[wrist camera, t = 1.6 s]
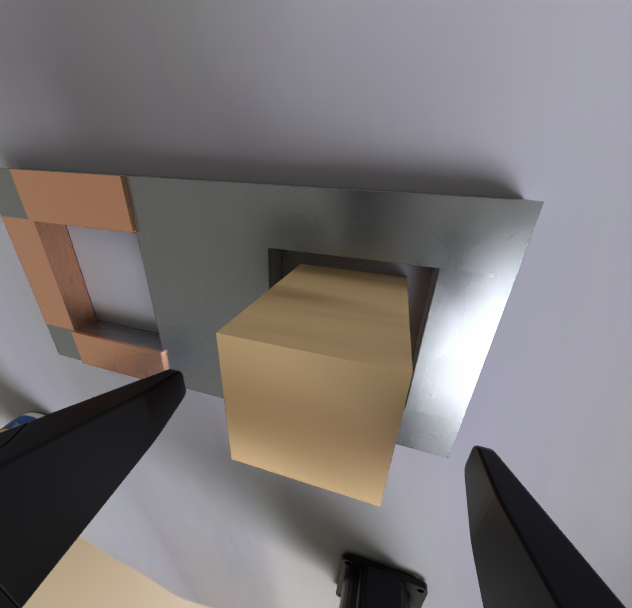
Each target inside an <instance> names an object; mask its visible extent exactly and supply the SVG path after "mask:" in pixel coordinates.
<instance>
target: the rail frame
mask: <svg viewBox="0 0 632 608" xmlns="http://www.w3.org/2000/svg"><path fill="white" fill-rule="evenodd" d="M543 203H544V202H541V201H534V200H526V199H512V198H495V197H479V196H462V195H446V194H429V193H413V192H396V191H380V190H363V189H346V188H330V187H313V186H297V185H280V184H264V183H247V182H231V181H214V180H198V179H181V178H164V177H148V176H131V175H115V174H98V173H82V172H65V171H49V170H32V169H15V168H0V214H1V216H2V219H3V221H4V223H5V226H6V228H7V231H8V233H9V235H10V238H11V240H12V243H13V245H14V247H15V250H16V252H17V255H18V257H19V259H20V262H21V264H22V267H23V269H24V271H25V274H26V276H27V279H28V281H29V283H30V286H31V288H32V291H33V293H34V295H35V298H36V300H37V303H38V305H39V307H40V310H41V312H42V315H43V317H44V319H45V322H46V324H47V327H48V329H49V331H50V334H51V336H52V339H53V341H54V343H55V346H56V348H57V351H58V353H59V355H63V356H67V357H71V358H75V359H78V360H82V362H83V363H84V364H88V365H92V366H95V367H99V368H103V369H106V370H110V371H114V372H118V373H121V374H125V375H129V376H132V377H136V378H140V379H144V378H147V377H149V376H152V375H154V374H157V373H160V372H162V371H165V370H168V369H174V370H178V371H181V372H182V373H183V377H184V382H185V387H186V388H187V389H191V390H195V391H199V392H202V393H206V394H210V395H214V396H217V397H221V398H224V393H223V385H222V377H221V369H220V361H219V353H218V345H217V337H216V333H217V332H218V331H219V330H220V329H221V328H223V327H224V326H225V325H226V324H228V323H229V322H230V321H231V320H232V319H234V318H235V317H236V316H237V315H239V314H240V313H241V312H242V311H243V310H245V309H246V308H247V307H248V306H250V305H251V304H252V303H253V302H254V301H256V300H257V299H258V298H259V297H261V296H262V295H263V294H264V293H265V292H267V291H268V290H269V289H270V288H272V287H273V286H274V285H275V284H276V283H278V282H279V281H280V280H281V249H282V250H290V251H299V252H307V253H316V254H324V255H333V256H341V257H349V258H358V259H366V260H375V261H383V262H392V263H400V264H408V265H417V266H425V267H434V268H433V272H432V276H431V281H430V285H429V289H428V293H427V297H426V302H425V306H424V310H423V314H422V319H421V323H420V327H419V331H418V336H417V340H416V344H415V348H414V352H413V357H412V370H413V374H412V378H411V382H410V386H409V390H408V394H407V399H406V403H405V407H404V411H403V415H402V419H401V423H400V427H399V431H398V435H397V439H396V444H398V445H402V446H406V447H409V448H413V449H417V450H421V451H424V452H428V453H432V454H436V455H439V456H443V457H447V458H448V457H449V455H450V452H451V449H452V447H453V444H454V441H455V438H456V436H457V433H458V430H459V428H460V425H461V422H462V420H463V417H464V414H465V412H466V409H467V406H468V404H469V401H470V398H471V396H472V393H473V390H474V388H475V385H476V382H477V380H478V377H479V374H480V371H481V369H482V366H483V363H484V361H485V358H486V355H487V353H488V350H489V347H490V345H491V342H492V339H493V337H494V334H495V331H496V329H497V326H498V323H499V321H500V318H501V315H502V313H503V310H504V307H505V305H506V302H507V299H508V296H509V294H510V291H511V288H512V286H513V283H514V280H515V278H516V275H517V272H518V270H519V267H520V264H521V262H522V259H523V256H524V254H525V251H526V248H527V246H528V243H529V240H530V238H531V235H532V232H533V229H534V227H535V224H536V221H537V219H538V216H539V213H540V211H541V208H542V205H543ZM66 225H71V226H79V227H88V228H96V229H105V230H113V231H121V232H130V233H135V232H137V237H138V241H139V245H140V250H141V254H142V259H143V263H144V268H145V272H146V277H147V281H148V286H149V290H150V295H151V299H152V304H153V308H154V313H155V317H156V321H157V326H158V330H159V334H157V333H153V332H148V331H144V330H139V329H135V328H130V327H125V326H121V325H116V324H112V323H107V322H102V321H98V320H96V317H95V314H94V311H93V307H92V304H91V301H90V298H89V295H88V292H87V289H86V286H85V283H84V280H83V277H82V274H81V271H80V268H79V265H78V262H77V259H76V256H75V252H74V249H73V246H72V243H71V240H70V237H69V234H68V231H67V228H66Z"/></svg>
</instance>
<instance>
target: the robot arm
mask: <svg viewBox="0 0 632 608" xmlns="http://www.w3.org/2000/svg"><path fill="white" fill-rule="evenodd" d="M185 393H186V387H185V382H184V377H183V373H182V372H181V371H178V370H174V369H168V370H165V371H162V372H160V373H157V374H154V375H152V376H149V377H147V378H144V379H141V380H139V381H136V382H133V383H131V384H128V385H125V386H123V387H120V388H117V389H115V390H112V391H109V392H107V393H104V394H101V395H99V396H96V397H93V398H91V399H88V400H85V401H83V402H80V403H77V404H75V405H72V406H69V407H67V408H64V409H61V410H59V411H56V412H53V413H51V414H48V415H45V416H43V417H40V418H37V419H35V420H32V421H30V422H29V423H24V424H21V425H19V426H16V427H13V428H11V429H8V430H5V431H3V432H0V608H22V607H23V606H24V605H25V603H26V602H27V601H28V599H29V598H30V597H31V596H32V595H33V593H34V592H35V591H36V590H37V588H38V587H39V586H40V584H41V583H42V582H43V581H44V579H45V578H46V577H47V575H48V574H49V573H50V572H51V571H52V569H53V568H54V567H55V566H56V564H57V563H58V562H59V560H60V559H61V558H62V557H63V555H64V554H65V553H66V552H67V551H68V549H69V548H70V547H71V546H72V544H73V543H74V542H75V541H76V539H77V538H78V537H79V535H80V534H81V533H82V532H83V530H84V529H85V528H86V527H87V525H88V524H89V523H90V522H91V520H92V519H93V518H94V517H95V515H96V514H97V513H98V512H99V510H100V509H101V508H102V507H103V505H104V504H105V503H106V502H107V500H108V499H109V498H110V497H111V495H112V494H113V493H114V492H115V490H116V489H117V488H118V486H119V485H120V484H121V483H122V481H123V480H124V479H125V478H126V476H127V475H128V474H129V473H130V471H131V470H132V469H133V468H134V466H135V465H136V464H137V463H138V461H139V460H140V459H141V458H142V456H143V455H144V454H145V453H146V451H147V450H148V449H149V448H150V446H151V445H152V444H153V442H154V441H155V440H156V438H157V437H158V436H159V434H160V433H161V431H162V430H163V428H164V427H165V425H166V424H167V422H168V421H169V419H170V418H171V416H172V415H173V413H174V412H175V410H176V409H177V407H178V406H179V404H180V403H181V401H182V400H183V398H184V396H185ZM465 484H466V495H467V506H468V517H469V528H470V537H471V544H472V550H473V556H474V561H475V566H476V571H477V576H478V582H479V587H480V592H481V597H482V602H483V607H484V608H626V607H625V606H624V605H623V604H622V603H621V601H620V600H619V599H618V598H617V597H616V595H615V594H614V593H613V592H612V591H611V589H610V588H609V587H608V586H607V585H606V583H605V582H604V581H603V580H602V579H601V578H600V576H599V575H598V574H597V573H596V572H595V570H594V569H593V568H592V567H591V566H590V564H589V563H588V562H587V561H586V560H585V559H584V557H583V556H582V555H581V554H580V553H579V551H578V550H577V549H576V548H575V547H574V545H573V544H572V543H571V542H570V541H569V539H568V538H567V537H566V536H565V535H564V534H563V532H562V531H561V530H560V529H559V528H558V526H557V525H556V524H555V523H554V522H553V520H552V519H551V518H550V517H549V516H548V515H547V513H546V512H545V511H544V510H543V509H542V507H541V506H540V505H539V504H538V503H537V501H536V500H535V499H534V498H533V497H532V495H531V494H530V493H529V492H528V491H527V490H526V488H525V487H524V486H523V485H522V484H521V482H520V481H519V480H518V479H517V478H516V476H515V475H514V474H513V473H512V472H511V471H510V469H509V468H508V467H507V466H506V465H505V463H504V462H503V461H502V460H501V459H500V457H499V456H498V455H497V454H496V453H495V452H494V451H493V450H492V449H489V448H485V447H481V446H474V447H473V449H472V451H471V453H470V456H469V458H468V460H467V463H466V466H465ZM336 595H337V596H339V597H340V598H341V599H340V606H339V608H421V606H422V604H423V602H424V600H425V598H426V596H427V584H426V583H425V582H423V581H421V580H418V579H415V578H412V577H410V576H407V575H404V574H402V573H399V572H396V571H394V570H391V569H388V568H385V567H383V566H380V565H377V564H375V563H372V562H369V561H366V560H364V559H361V558H358V557H356V556H353V555H350V554H347V553H344V554H343V555H342V560H341V566H340V572H339V578H338V584H337V590H336Z"/></svg>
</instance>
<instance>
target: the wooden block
mask: <svg viewBox="0 0 632 608" xmlns="http://www.w3.org/2000/svg"><path fill="white" fill-rule="evenodd" d="M216 337H217V345H218V353H219V361H220V369H221V377H222V385H223V393H224V402H225V410H226V418H227V426H228V434H229V442H230V450H231V459H233V460H236V461H239V462H242V463H245V464H248V465H252V466H255V467H258V468H261V469H264V470H267V471H270V472H273V473H277V474H280V475H283V476H286V477H289V478H292V479H295V480H298V481H301V482H305V483H308V484H311V485H314V486H317V487H320V488H323V489H326V490H330V491H333V492H336V493H339V494H342V495H345V496H348V497H351V498H355V499H358V500H361V501H364V502H367V503H370V504H373V505H376V506H379V507H380V505H381V501H382V497H383V493H384V488H385V484H386V480H387V476H388V472H389V468H390V464H391V460H392V456H393V452H394V448H395V444H396V439H397V435H398V431H399V427H400V423H401V419H402V415H403V411H404V407H405V403H406V399H407V394H408V390H409V386H410V382H411V378H412V374H413V370H412V354H411V338H410V322H409V306H408V290H407V277H400V276H392V275H385V274H377V273H369V272H361V271H354V270H346V269H338V268H330V267H323V266H315V265H307V264H300V265H298V266H297V267H296V268H295V269H294V270H292V271H291V272H290V273H289V274H287V275H286V276H285V277H284V278H283V279H281V280H280V281H279V282H278V283H276V284H275V285H274V286H273V287H272V288H270V289H269V290H268V291H267V292H265V293H264V294H263V295H262V296H261V297H259V298H258V299H257V300H256V301H254V302H253V303H252V304H251V305H250V306H248V307H247V308H246V309H245V310H243V311H242V312H241V313H240V314H239V315H237V316H236V317H235V318H234V319H232V320H231V321H230V322H229V323H228V324H226V325H225V326H224V327H223V328H221V329H220V330H219V331H218V332H217V333H216Z"/></svg>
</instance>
